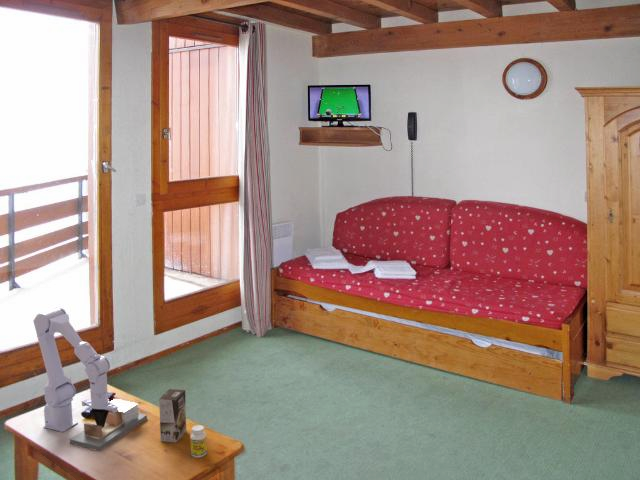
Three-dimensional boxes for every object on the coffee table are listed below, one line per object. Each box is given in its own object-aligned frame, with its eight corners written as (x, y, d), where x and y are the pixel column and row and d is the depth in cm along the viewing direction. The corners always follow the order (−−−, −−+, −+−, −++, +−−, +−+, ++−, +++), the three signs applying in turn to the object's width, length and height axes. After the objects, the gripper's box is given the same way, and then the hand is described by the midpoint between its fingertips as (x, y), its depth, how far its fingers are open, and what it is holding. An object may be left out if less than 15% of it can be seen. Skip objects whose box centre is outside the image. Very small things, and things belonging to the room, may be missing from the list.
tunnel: (102, 421, 241) (101, 406, 240) (115, 413, 248) (114, 398, 247) (125, 426, 237) (124, 412, 236) (138, 418, 244) (137, 403, 243)
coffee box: (177, 443, 229) (175, 400, 226) (159, 441, 230) (158, 398, 227) (187, 431, 238) (186, 389, 235) (170, 429, 239) (169, 388, 236)
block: (106, 422, 239) (106, 412, 238) (115, 417, 243) (115, 407, 243) (116, 425, 237) (116, 414, 236) (125, 419, 242) (125, 409, 241)
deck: (70, 443, 228) (69, 439, 228) (119, 412, 252) (119, 408, 251) (99, 451, 223) (99, 446, 223) (147, 418, 247) (146, 415, 247)
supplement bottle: (206, 449, 225) (205, 423, 224) (207, 457, 220) (206, 430, 218) (190, 450, 224) (189, 425, 222) (191, 458, 219) (190, 432, 217)
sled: (84, 435, 230) (83, 423, 229) (114, 416, 244) (113, 405, 244) (100, 439, 228) (99, 427, 227) (129, 420, 242) (128, 409, 241)
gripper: (123, 390, 231) (124, 426, 234) (90, 384, 237) (92, 418, 239) (109, 398, 225) (111, 435, 227) (76, 391, 230) (79, 427, 233)
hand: (101, 427), depth 233 cm, fingers closed
